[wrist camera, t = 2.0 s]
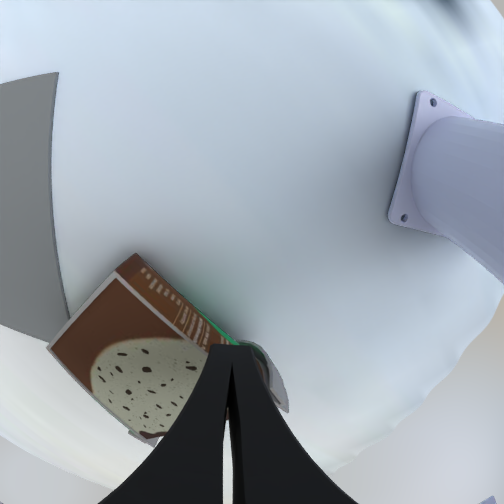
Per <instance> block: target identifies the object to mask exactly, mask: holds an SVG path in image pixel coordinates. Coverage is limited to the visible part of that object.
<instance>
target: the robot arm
mask: <svg viewBox="0 0 504 504" xmlns="http://www.w3.org/2000/svg"><path fill="white" fill-rule="evenodd" d="M430 99H432V101H433V105H432V106H431V104H430ZM403 214H405V217H404V219H403V220H401V216H402V215H403ZM388 219H389V221H390V222H391V223H393V224H395V225H399V226H403V227H408V228H412V229H416V230H420V231H424V232H428V233H432V234H436V235H440V236H443V237H447V238H449V239H450V240H451V241H453V242H454V243H455V244H456V245H458V246H459V247H460V248H462V249H463V250H464V251H465V252H467V253H468V254H469V255H470V256H471V257H473V258H474V259H475V260H476V261H477V262H479V263H480V264H481V265H482V266H483V267H485V268H486V269H487V270H488V271H489V272H490V273H491V274H493V275H494V276H495V277H496V278H497V279H498V280H499V281H500V282H502V283H503V284H504V125H503V124H498V123H493V122H488V121H483V120H477V119H475V118H473V117H472V116H470V115H468V114H467V113H465V112H464V111H462V110H460V109H459V108H457V107H455V106H454V105H452V104H450V103H449V102H447V101H445V100H443V99H441V98H440V97H438V96H436V95H434V94H432V93H430V92H428V91H425V90H423V91H419V92H418V93H417V96H416V102H415V107H414V113H413V118H412V123H411V128H410V132H409V137H408V141H407V146H406V150H405V154H404V158H403V162H402V166H401V170H400V174H399V177H398V181H397V185H396V188H395V192H394V195H393V199H392V202H391V205H390V208H389V212H388ZM227 409H228V416H229V429H230V440H231V451H232V463H233V504H358V503H357V502H355V501H354V500H353V499H352V498H351V497H349V496H348V495H347V494H346V493H345V492H344V491H343V490H341V489H340V488H339V487H338V486H337V485H336V484H335V483H334V482H333V481H332V480H331V479H330V478H329V477H328V476H327V475H326V474H325V473H324V472H323V470H322V469H321V468H320V467H319V466H318V465H317V464H316V463H315V462H314V461H313V459H312V458H311V457H310V456H309V455H308V453H307V452H306V451H305V449H304V448H303V447H302V446H301V444H300V443H299V441H298V440H297V439H296V437H295V436H294V434H293V433H292V431H291V430H290V428H289V427H288V425H287V424H286V422H285V420H284V419H283V417H282V415H281V414H280V412H279V410H278V408H277V406H276V405H275V403H274V401H273V399H272V397H271V395H270V393H269V391H268V388H267V386H266V384H265V382H264V380H263V377H262V375H261V372H260V370H259V367H258V364H257V361H256V358H255V355H254V351H253V348H252V347H251V346H246V345H230V344H216V343H214V344H212V345H210V349H209V353H208V357H207V360H206V362H205V365H204V367H203V370H202V372H201V375H200V377H199V379H198V381H197V383H196V385H195V387H194V389H193V391H192V393H191V395H190V397H189V398H188V400H187V402H186V403H185V405H184V407H183V409H182V410H181V412H180V414H179V415H178V417H177V418H176V420H175V421H174V423H173V424H172V426H171V427H170V429H169V430H168V432H167V433H166V434H165V436H164V437H163V438H162V440H161V441H160V442H159V443H158V445H157V446H156V447H155V448H154V450H153V451H152V452H151V453H150V455H149V456H148V457H147V458H146V459H145V460H144V461H143V463H142V464H141V465H140V466H139V467H138V468H137V469H136V470H135V471H134V472H133V473H132V474H131V475H130V476H129V477H128V478H127V479H126V480H125V481H124V482H123V483H122V484H121V485H120V486H119V487H117V488H116V489H115V490H114V491H113V492H111V493H110V494H109V495H108V496H107V497H105V498H104V499H103V500H102V501H101V502H99V503H98V504H223V440H224V432H225V424H226V417H227ZM0 504H3V503H1V502H0ZM479 504H496V501H495V498H494V496H491V497H489V498H488V499H486V500H484V501H482V502H481V503H479Z"/></svg>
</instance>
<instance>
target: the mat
mask: <svg viewBox="0 0 504 504" xmlns="http://www.w3.org/2000/svg"><path fill="white" fill-rule="evenodd" d="M58 74H59V73H58V72H54V73H48V74H43V75H37V76H32V77H28V78H23V79H19V80H15V81H11V82H7V83H3V84H0V324H1V325H3V326H6V327H8V328H11V329H13V330H16V331H18V332H21V333H24V334H26V335H29V336H32V337H34V338H37V339H40V340H43V341H46V342H49V343H50V342H51V341H52V340H53V339H54V337H55V336H56V335H57V334H58V332H59V331H60V330H61V329H62V328H63V326H64V325H65V324H66V323H67V322H68V321H69V319H70V317H69V312H68V308H67V304H66V299H65V295H64V290H63V285H62V280H61V274H60V268H59V262H58V256H57V249H56V241H55V232H54V222H53V210H52V192H51V141H52V124H53V112H54V103H55V94H56V87H57V80H58Z"/></svg>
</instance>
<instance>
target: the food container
mask: <svg viewBox="0 0 504 504" xmlns="http://www.w3.org/2000/svg"><path fill="white" fill-rule="evenodd" d="M214 343H216V344H230V345H246V346H251V347H252V348H253V351H254V355H255V358H256V361H257V364H258V367H259V370H260V372H261V375H262V377H263V380H264V382H265V384H266V386H267V388H268V391H269V393H270V395H271V397H272V399H273V401H274V403H275V405H276V406H277V407H279V408H280V409H282V410H283V411H285V412H286V413H289V401H288V396H287V392H286V389H285V387H284V384H283V380H282V378H281V376H280V374H279V372H278V370H277V369H276V367H275V366H274V364H273V362H272V361H271V359H270V358H269V356H268V354H267V353H266V352H265V351H264V350H263V348H262V347H261V346H259V345H257V344H255V343H254V342H250V341H245V340H242V341H235V340H233V339H232V338H231V337H230V336H228V335H227V334H226V333H225V332H224V331H222V330H221V329H220V328H219V327H218V326H216V325H215V324H214V323H213V322H212V321H210V320H209V319H208V318H207V317H206V316H205V315H203V314H202V313H201V312H200V311H199V310H198V309H196V308H195V307H194V306H193V305H192V304H191V303H190V302H188V301H187V300H186V299H185V298H184V297H183V296H182V295H181V294H179V293H178V292H177V291H176V290H175V289H174V288H173V287H172V286H171V285H170V284H168V283H167V282H166V281H165V280H164V279H163V278H162V277H161V276H160V275H159V274H158V273H157V272H155V271H154V270H153V269H152V268H151V267H150V266H149V265H148V264H147V263H146V262H145V261H144V260H143V259H142V258H141V257H140V256H139V255H138V254H137V253H135V254H134V255H132V256H131V257H129V258H128V259H127V260H126V261H125V262H123V263H122V264H121V265H120V266H119V267H117V268H116V269H115V270H114V271H113V272H112V273H111V274H110V275H109V276H108V277H107V278H106V279H105V281H104V282H103V283H102V284H101V285H100V286H99V287H98V288H97V289H96V290H95V291H94V292H93V293H92V295H91V296H90V297H89V298H88V299H87V300H86V301H85V302H84V303H83V305H82V306H81V307H80V308H79V309H78V310H77V311H76V313H75V314H74V315H73V316H72V317H71V318H70V319H69V321H68V322H67V323H66V324H65V325H64V326H63V328H62V329H61V330H60V331H59V332H58V334H57V335H56V336H55V337H54V339H53V340H52V341H51V342H50V343H49V345H48V346H47V347H46V349H47V350H48V351H49V352H50V353H51V354H52V356H53V357H54V358H55V359H56V360H57V361H58V362H59V364H60V365H61V366H62V367H63V368H64V369H65V370H66V371H67V372H68V373H69V374H70V376H71V377H72V378H73V379H74V380H75V381H76V382H77V383H78V384H79V385H80V386H81V387H82V388H83V389H84V390H85V391H86V392H87V393H88V394H89V395H90V396H91V397H92V398H93V399H95V400H96V401H97V402H98V403H99V404H100V405H101V406H102V407H103V408H104V409H105V410H107V411H108V412H109V413H110V414H111V415H112V416H113V417H115V418H116V419H117V420H118V421H119V422H121V423H122V424H123V425H124V426H125V427H127V428H128V429H129V432H128V434H130V435H132V436H133V437H135V438H137V439H138V440H140V441H142V442H144V443H147V444H149V445H150V446H152V447H155V445H156V443H157V441H158V439H159V437H161V436H165V434H166V433H167V432H168V430H169V429H170V427H171V426H172V424H173V423H174V421H175V420H176V418H177V417H178V415H179V414H180V412H181V410H182V409H183V407H184V405H185V403H186V402H187V400H188V398H189V397H190V395H191V393H192V391H193V389H194V387H195V385H196V383H197V381H198V379H199V377H200V375H201V372H202V370H203V367H204V365H205V362H206V360H207V357H208V353H209V349H210V345H212V344H214ZM228 419H229V416H228V409H227V417H226V420H228Z"/></svg>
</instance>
